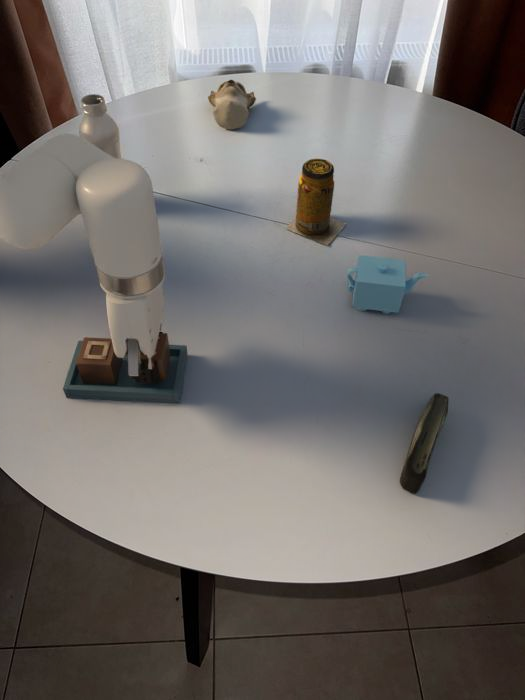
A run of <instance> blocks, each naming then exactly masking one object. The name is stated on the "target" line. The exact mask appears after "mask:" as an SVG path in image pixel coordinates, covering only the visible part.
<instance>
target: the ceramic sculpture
mask: <svg viewBox="0 0 525 700" xmlns="http://www.w3.org/2000/svg"><path fill="white" fill-rule="evenodd" d="M207 100H208V102H209V104H210V105H211V106H212V107H214V108H213V110H212V115H213V118H214V121H215V122H216V124H217V125H218V126H219V127H220V128H223V129H226V130H229V131H231V130H237V129H241V128H242V127H243V126H245V124H246V123H247V120H248V117H249V109H250V108H252V107H253V105H254V104H255V103H256V100H257V98H256V97H255V93H254V91H251V92H249V93H248V92H247V91H246V88H245V86H244V85H243V84H242V83H241V82H239V81H237V80H234V79H229V80H226V81H223V82H222V83H221V84H220V85H218V88H217V90H216V91H213V90H211V91H210V95H208V96H207Z"/></svg>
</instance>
